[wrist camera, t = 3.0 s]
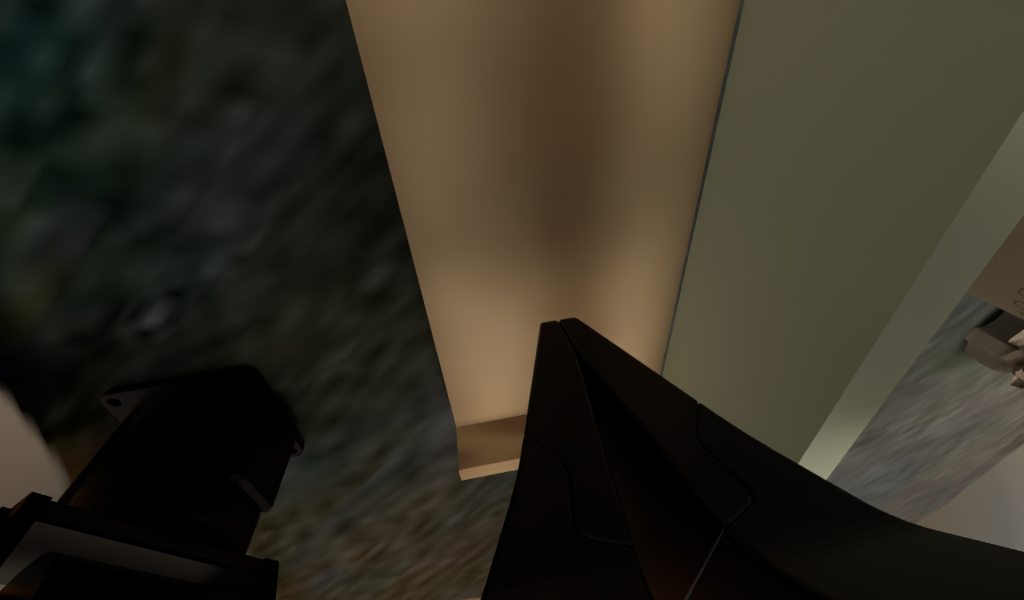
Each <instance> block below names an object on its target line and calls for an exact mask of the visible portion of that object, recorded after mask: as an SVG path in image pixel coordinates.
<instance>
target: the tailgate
mask: <svg viewBox="0 0 1024 600" xmlns="http://www.w3.org/2000/svg"><path fill="white" fill-rule="evenodd" d="M1023 216H1024V0H745V1H744V6H743V10H742V15H741V20H740V24H739V29H738V33H737V38H736V42H735V47H734V51H733V56H732V61H731V65H730V70H729V74H728V79H727V83H726V88H725V92H724V97H723V102H722V106H721V111H720V115H719V120H718V124H717V129H716V133H715V138H714V143H713V147H712V152H711V156H710V161H709V165H708V170H707V174H706V179H705V184H704V188H703V193H702V197H701V202H700V206H699V211H698V216H697V220H696V225H695V229H694V234H693V238H692V243H691V247H690V252H689V257H688V261H687V266H686V270H685V275H684V279H683V284H682V288H681V293H680V298H679V302H678V307H677V311H676V316H675V320H674V325H673V329H672V334H671V339H670V343H669V348H668V352H667V357H666V361H665V366H664V370H663V375H662V377H664V378H665V379H667V380H668V381H669V382H671V383H672V384H674V385H675V386H677V387H678V388H680V389H681V390H683V391H684V392H685V393H687V394H688V395H690V396H691V397H693V398H694V399H696V400H697V402H698V403H702V404H703V405H705V406H706V407H707V408H709V409H710V410H712V411H713V412H715V413H716V414H718V415H719V416H721V417H722V418H724V419H725V420H727V421H728V422H730V423H731V424H733V425H734V426H736V427H738V428H739V429H741V430H742V431H744V432H745V433H747V434H749V435H750V436H752V437H754V438H755V439H757V440H758V441H760V442H762V443H763V444H765V445H767V446H768V447H770V448H772V449H773V450H775V451H777V452H779V453H780V454H782V455H784V456H785V457H787V458H789V459H791V460H792V461H794V462H796V463H798V464H799V465H801V466H803V467H804V468H806V469H808V470H810V471H811V472H813V473H815V474H817V475H818V476H820V477H822V478H824V479H825V480H826V479H827V478H828V477H829V475H830V474H831V473H832V471H833V470H834V469H835V467H836V466H837V465H838V463H839V462H840V461H841V459H842V458H843V457H844V455H845V454H846V452H847V451H848V450H849V448H850V447H851V446H852V444H853V443H854V442H855V440H856V439H857V438H858V436H859V435H860V434H861V432H862V431H863V430H864V428H865V427H866V426H867V424H868V423H869V422H870V420H871V419H872V418H873V416H874V415H875V414H876V412H877V411H878V410H879V408H880V407H881V406H882V404H883V403H884V402H885V400H886V399H887V398H888V396H889V395H890V394H891V392H892V391H893V390H894V388H895V387H896V386H897V384H898V383H899V382H900V380H901V379H902V378H903V376H904V375H905V374H906V372H907V371H908V369H909V368H910V367H911V365H912V364H913V363H914V361H915V360H916V359H917V357H918V356H919V355H920V353H921V352H922V351H923V349H924V348H925V347H926V345H927V344H928V343H929V341H930V340H931V339H932V337H933V336H934V335H935V333H936V332H937V331H938V329H939V328H940V327H941V325H942V324H943V323H944V321H945V320H946V319H947V317H948V316H949V315H950V313H951V312H952V311H953V309H954V308H955V307H956V305H957V304H958V303H959V301H960V300H961V299H962V297H963V296H964V295H965V293H966V292H967V290H968V289H969V288H970V286H971V285H972V284H973V282H974V281H975V280H976V278H977V277H978V276H979V274H980V273H981V272H982V270H983V269H984V268H985V266H986V265H987V264H988V262H989V261H990V260H991V258H992V257H993V256H994V254H995V253H996V252H997V250H998V249H999V248H1000V246H1001V245H1002V244H1003V242H1004V241H1005V240H1006V238H1007V237H1008V236H1009V234H1010V233H1011V232H1012V230H1013V229H1014V228H1015V226H1016V225H1017V224H1018V222H1019V221H1020V220H1021V218H1022V217H1023Z"/></svg>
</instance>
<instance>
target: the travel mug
mask: <svg viewBox="0 0 1024 600" xmlns="http://www.w3.org/2000/svg"><path fill="white" fill-rule="evenodd" d="M967 293H969V294H971V295H973V296H975V297H977V298H979V299H981V300H984V301H986V302H988V303H990V304H992V305H994V306H996V307H998V308H1000V309H1002V310H1005V311H1007V312H1009V313H1011V314H1013V315H1015V316H1017V317H1019V318H1021V319H1023V320H1024V216H1023V217H1022V218H1021V220H1020V221H1019V222H1018V224H1017V225H1016V226H1015V228H1014V229H1013V230H1012V232H1011V233H1010V234H1009V236H1008V237H1007V238H1006V240H1005V241H1004V242H1003V244H1002V245H1001V246H1000V248H999V249H998V250H997V252H996V253H995V254H994V256H993V257H992V258H991V260H990V261H989V262H988V264H987V265H986V266H985V268H984V269H983V270H982V272H981V273H980V274H979V276H978V277H977V278H976V280H975V281H974V282H973V284H972V285H971V286H970V288H969V289H968V290H967Z"/></svg>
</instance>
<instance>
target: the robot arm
mask: <svg viewBox="0 0 1024 600" xmlns="http://www.w3.org/2000/svg"><path fill="white" fill-rule="evenodd" d="M243 377H245V378H243ZM246 378H247V379H246ZM100 402H101V404H102V405H103V406H104V407H105V408H106V409H107V410H108V411H109V412H110V413H112V414H113V415H114V416H115V417H116V418H117V419H118V420H119V421H120V422H121V424H120V426H119V427H118V428H117V429H116V430H115V432H114V433H113V434H112V435H111V437H110V438H109V439H108V440H107V441H106V443H105V444H104V445H103V446H102V447H101V449H100V450H99V451H98V452H97V454H96V455H95V456H94V457H93V458H92V460H91V461H90V462H89V463H88V464H87V466H86V467H85V468H84V469H83V471H82V472H81V473H80V474H79V475H78V477H77V478H76V479H75V480H74V481H73V483H72V484H71V485H70V486H69V488H68V489H67V490H66V491H65V492H64V494H63V495H62V496H61V497H60V499H59V500H58V501H57V502H54V501H51V499H52V497H49V496H46V495H42V494H39V493H35V492H31V493H30V494H29V495H27V496H26V497H25V498H23V499H22V500H21V501H20V502H18V503H17V504H16V505H15V506H13V507H12V508H11V509H9V508H6V507H1V508H0V584H4V585H6V586H5V587H4V588H3V589H2V590H1V591H0V600H276V590H277V579H278V568H279V561H277V560H273V559H269V558H265V559H260V558H256V557H252V556H249V555H246V552H247V550H248V547H249V544H250V541H251V539H252V536H253V533H254V531H255V528H256V525H257V523H258V520H259V517H260V515H261V514H263V513H267V512H269V510H270V509H271V508H272V506H273V504H274V501H275V498H276V495H277V492H278V490H279V487H280V484H281V481H282V478H283V475H284V473H285V470H286V467H287V464H288V461H289V458H290V457H295V456H299V455H300V454H302V452H303V449H304V446H305V445H304V442H303V441H302V439H301V438H300V436H299V435H298V432H297V431H296V429H295V428H294V426H293V425H292V423H291V422H290V420H289V418H288V417H287V415H286V414H285V412H284V411H283V409H282V408H281V406H280V405H279V404H278V403H277V401H276V400H275V398H274V397H273V395H272V394H271V392H270V391H269V389H268V388H267V386H266V385H265V383H264V382H263V380H262V378H261V377H260V375H259V374H258V373H257V372H256V371H255V370H254V369H252V368H248V367H240V368H234V369H228V370H222V371H215V372H209V373H203V374H197V375H191V376H185V377H179V378H172V379H166V380H160V381H154V382H148V383H142V384H136V385H129V386H123V387H117V388H112V389H109V390H108V391H107V392H106V393H105V394H104V395H103V396H102V397H101V398H100ZM481 600H1024V552H1022V551H1018V550H1014V549H1010V548H1006V547H1002V546H998V545H994V544H990V543H986V542H982V541H978V540H973V539H970V538H965V537H961V536H957V535H953V534H949V533H945V532H941V531H937V530H933V529H929V528H926V527H922V526H919V525H916V524H913V523H910V522H907V521H905V520H902V519H900V518H897V517H895V516H893V515H890V514H888V513H886V512H884V511H881V510H879V509H877V508H875V507H873V506H871V505H869V504H867V503H866V502H864V501H862V500H860V499H858V498H856V497H855V496H853V495H851V494H849V493H848V492H846V491H844V490H843V489H841V488H839V487H837V486H836V485H834V484H832V483H830V482H829V481H827V480H825V479H824V478H822V477H820V476H818V475H817V474H815V473H813V472H811V471H810V470H808V469H806V468H804V467H803V466H801V465H799V464H798V463H796V462H794V461H792V460H791V459H789V458H787V457H785V456H784V455H782V454H780V453H779V452H777V451H775V450H773V449H772V448H770V447H768V446H767V445H765V444H763V443H762V442H760V441H758V440H757V439H755V438H754V437H752V436H750V435H749V434H747V433H745V432H744V431H742V430H741V429H739V428H738V427H736V426H734V425H733V424H731V423H730V422H728V421H727V420H725V419H724V418H722V417H721V416H719V415H718V414H716V413H715V412H713V411H712V410H710V409H709V408H707V407H706V406H705V405H703V404H702V403H698V402H697V400H696V399H694V398H693V397H691V396H690V395H688V394H687V393H685V392H684V391H683V390H681V389H680V388H678V387H677V386H675V385H674V384H672V383H671V382H669V381H668V380H667V379H665V378H664V377H662V376H661V375H659V374H658V373H656V372H655V371H653V370H652V369H651V368H649V367H648V366H646V365H645V364H643V363H642V362H640V361H639V360H637V359H636V358H635V357H633V356H632V355H630V354H629V353H627V352H626V351H624V350H623V349H621V348H620V347H619V346H617V345H616V344H614V343H613V342H611V341H610V340H608V339H607V338H605V337H604V336H603V335H601V334H600V333H598V332H597V331H595V330H594V329H592V328H591V327H589V326H588V325H587V324H585V323H584V322H582V321H581V320H579V319H578V318H575V317H572V318H566V319H561V320H559V322H558V321H556V320H554V321H548V322H542V323H541V324H540V328H539V335H538V342H537V349H536V355H535V362H534V369H533V376H532V383H531V389H530V396H529V403H528V410H527V417H526V423H525V430H524V437H523V442H522V449H521V456H520V461H519V466H518V472H517V477H516V481H515V485H514V489H513V493H512V497H511V500H510V504H509V508H508V511H507V515H506V518H505V521H504V525H503V528H502V531H501V535H500V538H499V541H498V545H497V548H496V551H495V555H494V558H493V561H492V565H491V568H490V571H489V575H488V578H487V581H486V585H485V588H484V591H483V594H482V597H481Z"/></svg>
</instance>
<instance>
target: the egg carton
mask: <svg viewBox="0 0 1024 600" xmlns="http://www.w3.org/2000/svg"><path fill="white" fill-rule="evenodd" d="M964 339H965V340H966V341H967V346H966V348H965V349H964V351H965V352H966V353H967V354H969V355H970V356H972V357H973V358H975V359H976V360H977V361H978V362H980V363H981V364H983V365H984V366H986V367H988V368H990V369H992V370H995V371H998V372H1004V373H1009V372H1012V374H1013V375H1015V376H1014V378H1013V379H1012V381H1011V382H1010V385H1012V386H1015V387H1021V390H1022V389H1024V320H1023V319H1021V318H1019V317H1017V316H1015V315H1013V314H1011V313H1009V312H1007V311H1004V312H1003V314H1002V315H1001V316H999V317H998V318H997V319H996V320H994V321H992V322H991V323H989V324H987V325H984V326H981V327H977V328H975V329H974V330H973V331H971V332H970V333H969V334H968V335H967V336H966V337H965V338H964Z"/></svg>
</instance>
